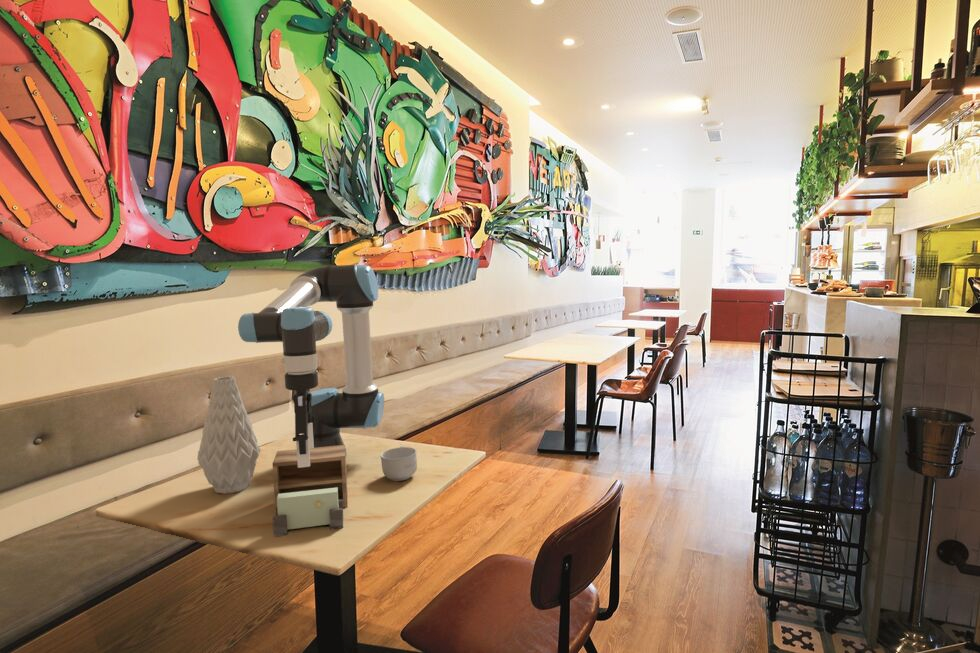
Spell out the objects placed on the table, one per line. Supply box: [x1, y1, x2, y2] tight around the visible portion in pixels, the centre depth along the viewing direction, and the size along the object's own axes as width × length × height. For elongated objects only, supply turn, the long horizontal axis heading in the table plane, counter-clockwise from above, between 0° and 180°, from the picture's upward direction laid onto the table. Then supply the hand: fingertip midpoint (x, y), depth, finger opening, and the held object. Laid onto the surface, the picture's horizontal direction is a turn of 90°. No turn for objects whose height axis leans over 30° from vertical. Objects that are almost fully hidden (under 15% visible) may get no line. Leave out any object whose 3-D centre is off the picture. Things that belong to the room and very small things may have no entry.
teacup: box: [380, 445, 418, 482], centre depth 170 cm, size 14×11×8 cm
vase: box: [197, 376, 261, 495], centre depth 161 cm, size 17×17×33 cm
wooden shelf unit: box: [272, 444, 348, 537], centre depth 144 cm, size 22×18×14 cm
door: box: [277, 487, 339, 531], centre depth 136 cm, size 4×14×8 cm, turn 104°
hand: (306, 457), depth 136 cm, fingers open, 13 cm apart
